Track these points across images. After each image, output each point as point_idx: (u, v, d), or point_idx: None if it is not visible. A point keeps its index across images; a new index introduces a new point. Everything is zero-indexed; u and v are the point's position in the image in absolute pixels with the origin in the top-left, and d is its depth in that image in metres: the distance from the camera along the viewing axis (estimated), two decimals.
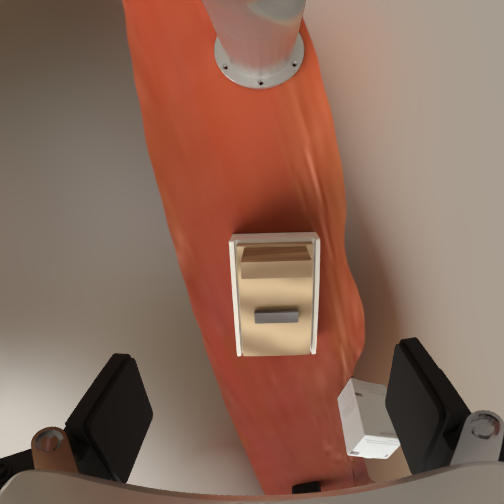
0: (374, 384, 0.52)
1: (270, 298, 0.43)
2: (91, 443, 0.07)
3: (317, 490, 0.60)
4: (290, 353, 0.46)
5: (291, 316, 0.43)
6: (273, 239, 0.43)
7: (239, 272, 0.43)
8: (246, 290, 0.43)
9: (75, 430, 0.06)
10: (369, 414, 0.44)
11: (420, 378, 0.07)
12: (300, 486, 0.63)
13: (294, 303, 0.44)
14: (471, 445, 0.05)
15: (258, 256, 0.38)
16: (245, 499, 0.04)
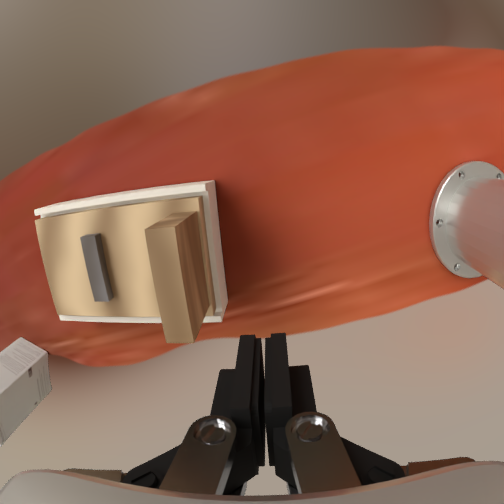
0: (47, 380, 0.37)
1: (122, 257, 0.26)
2: (253, 425, 0.08)
3: None
4: (52, 288, 0.27)
5: (100, 292, 0.26)
6: (213, 252, 0.27)
7: (155, 205, 0.24)
8: (127, 217, 0.25)
9: (241, 413, 0.07)
10: (12, 397, 0.28)
11: (266, 370, 0.09)
12: None
13: (120, 292, 0.27)
14: (308, 452, 0.06)
15: (186, 249, 0.21)
16: (245, 499, 0.04)
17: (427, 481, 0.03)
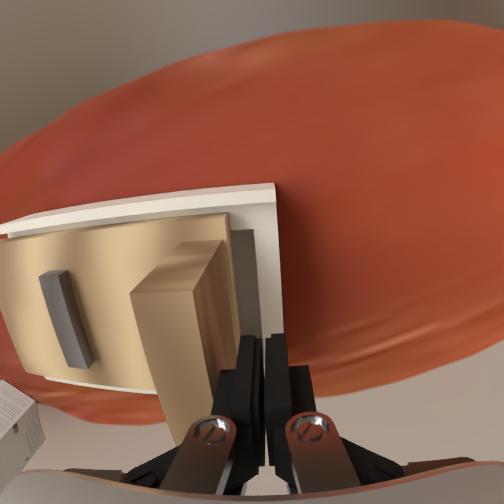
0: (39, 430, 0.27)
1: (102, 307, 0.16)
2: (253, 425, 0.08)
3: None
4: (13, 339, 0.18)
5: (74, 356, 0.16)
6: (279, 297, 0.17)
7: (151, 228, 0.15)
8: (106, 248, 0.15)
9: (242, 413, 0.07)
10: None
11: (266, 371, 0.09)
12: None
13: (104, 355, 0.17)
14: (307, 452, 0.06)
15: (212, 320, 0.11)
16: (245, 499, 0.04)
17: (427, 481, 0.03)
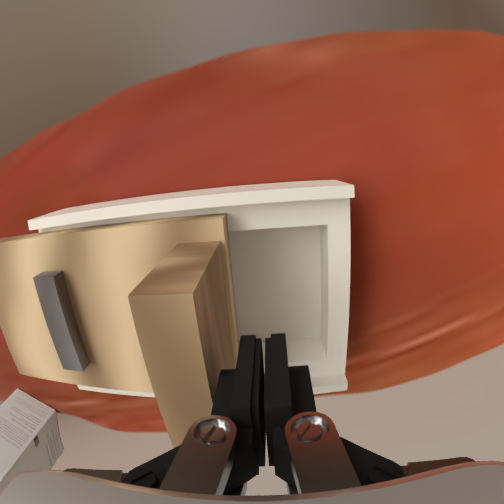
0: (58, 441, 0.26)
1: (98, 309, 0.16)
2: (253, 425, 0.08)
3: None
4: (8, 340, 0.17)
5: (69, 358, 0.16)
6: (347, 293, 0.17)
7: (148, 229, 0.14)
8: (102, 248, 0.15)
9: (242, 413, 0.07)
10: None
11: (265, 370, 0.09)
12: None
13: (99, 357, 0.17)
14: (307, 452, 0.06)
15: (211, 322, 0.11)
16: (245, 499, 0.04)
17: (427, 481, 0.03)
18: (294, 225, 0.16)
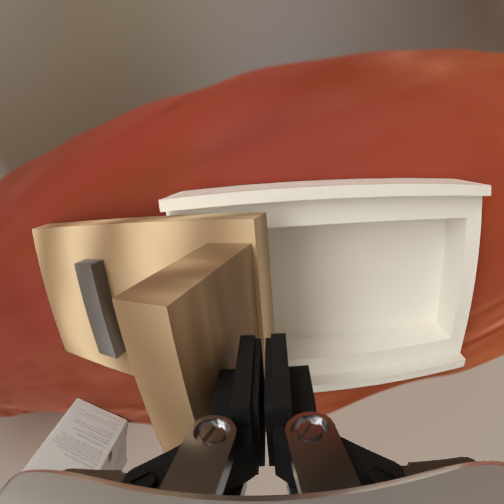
0: (124, 452, 0.26)
1: None
2: (253, 425, 0.08)
3: None
4: (56, 319, 0.21)
5: (104, 343, 0.17)
6: (473, 278, 0.16)
7: (179, 225, 0.14)
8: (137, 242, 0.15)
9: (242, 413, 0.07)
10: None
11: (266, 370, 0.09)
12: None
13: None
14: (308, 452, 0.06)
15: (211, 336, 0.10)
16: (245, 499, 0.04)
17: (427, 481, 0.03)
18: (444, 217, 0.15)
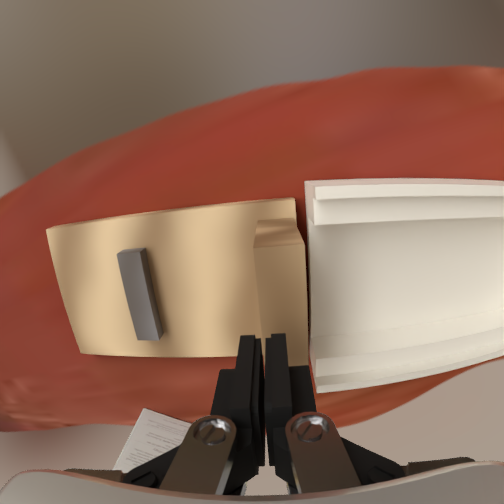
0: None
1: (178, 280, 0.19)
2: (253, 425, 0.08)
3: None
4: (72, 320, 0.21)
5: (146, 328, 0.19)
6: None
7: (232, 208, 0.18)
8: (188, 226, 0.18)
9: (241, 413, 0.07)
10: None
11: (266, 370, 0.09)
12: None
13: (174, 326, 0.20)
14: (308, 452, 0.06)
15: None
16: (245, 499, 0.04)
17: (427, 481, 0.03)
18: None
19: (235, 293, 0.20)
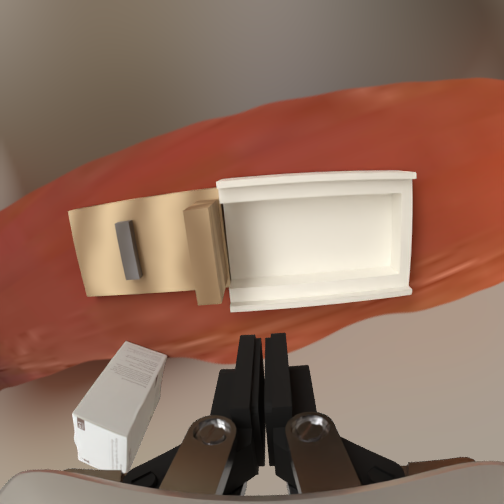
0: (160, 388, 0.37)
1: (151, 239, 0.31)
2: (253, 425, 0.08)
3: None
4: (83, 272, 0.32)
5: (131, 271, 0.31)
6: (410, 232, 0.28)
7: (182, 194, 0.30)
8: (157, 206, 0.30)
9: (241, 413, 0.07)
10: (142, 416, 0.28)
11: (266, 370, 0.09)
12: None
13: (149, 270, 0.32)
14: (308, 452, 0.06)
15: (214, 227, 0.27)
16: (245, 499, 0.04)
17: (427, 481, 0.03)
18: (385, 192, 0.27)
19: (185, 246, 0.31)
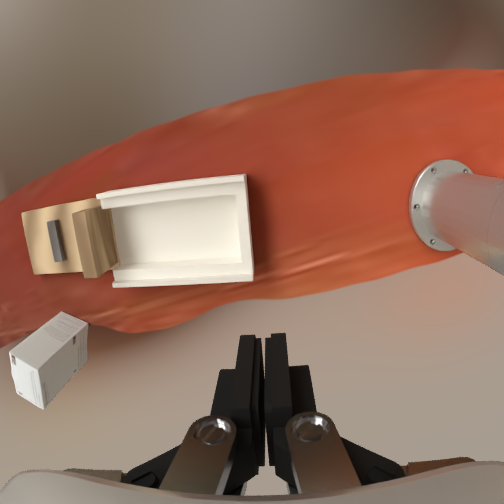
0: (85, 350, 0.46)
1: (70, 233, 0.40)
2: (253, 425, 0.08)
3: None
4: (31, 256, 0.41)
5: (57, 255, 0.40)
6: (247, 226, 0.36)
7: (86, 201, 0.38)
8: (72, 209, 0.39)
9: (242, 413, 0.07)
10: (58, 362, 0.36)
11: (266, 370, 0.09)
12: None
13: (69, 255, 0.41)
14: (308, 452, 0.06)
15: (95, 224, 0.35)
16: (245, 499, 0.04)
17: (427, 481, 0.03)
18: (220, 194, 0.35)
19: None
